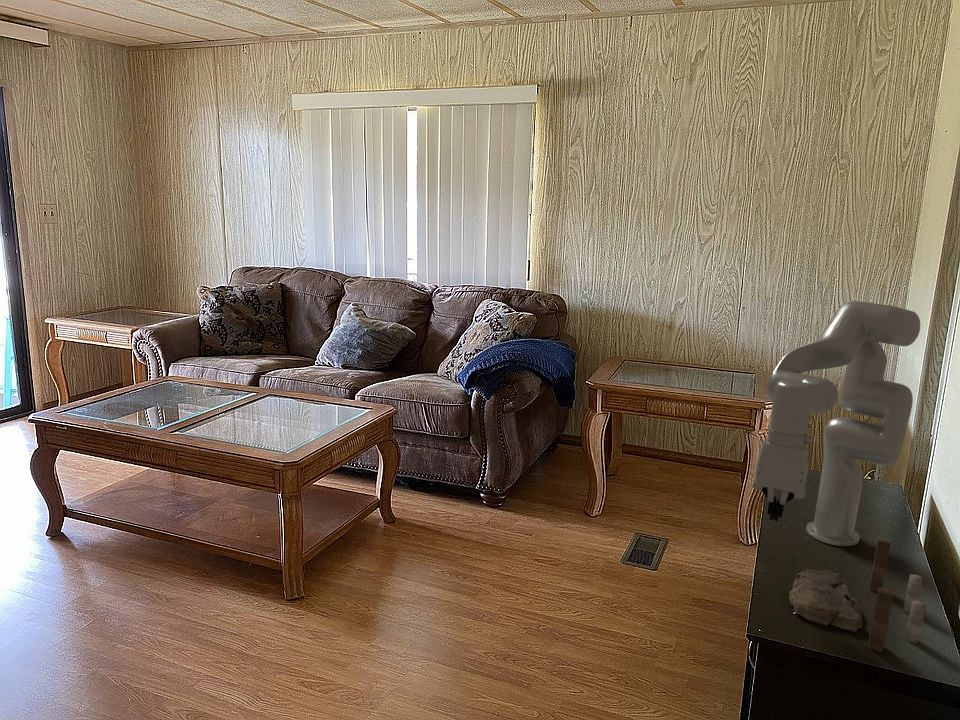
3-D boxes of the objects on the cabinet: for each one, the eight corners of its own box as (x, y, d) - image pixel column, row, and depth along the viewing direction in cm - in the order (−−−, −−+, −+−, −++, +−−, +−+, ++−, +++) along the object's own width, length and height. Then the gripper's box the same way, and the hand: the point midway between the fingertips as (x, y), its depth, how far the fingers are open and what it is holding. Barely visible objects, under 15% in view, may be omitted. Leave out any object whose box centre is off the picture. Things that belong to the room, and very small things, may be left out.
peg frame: (869, 585, 169) (878, 536, 167) (914, 596, 166) (924, 546, 163) (868, 648, 146) (878, 592, 143) (920, 662, 142) (932, 606, 139)
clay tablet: (790, 575, 173) (786, 616, 155) (794, 555, 172) (790, 595, 154) (857, 592, 168) (860, 637, 150) (861, 572, 167) (865, 615, 149)
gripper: (825, 440, 159) (812, 520, 163) (752, 427, 165) (741, 504, 169) (823, 450, 152) (810, 533, 156) (747, 436, 159) (735, 516, 163)
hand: (774, 518), depth 163 cm, fingers closed
